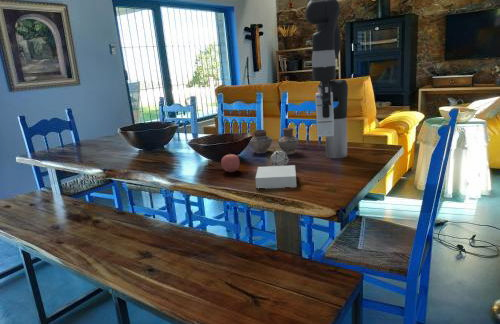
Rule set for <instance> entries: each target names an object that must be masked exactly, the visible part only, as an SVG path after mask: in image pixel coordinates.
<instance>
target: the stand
mask: <svg viewBox="0 0 500 324" xmlns="http://www.w3.org/2000/svg"><path fill="white" fill-rule="evenodd" d="M285 187H290V188H297V172H296V165H295V164H294V165H293V164H292V165H286V166H273V165H272V166H271V165H270V166H257V170H256V173H255V189H256V188H258V189H257V190H259V188H265V189H283V188H285ZM285 189H286V188H285Z"/></svg>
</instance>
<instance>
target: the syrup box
mask: <svg viewBox="0 0 500 324" xmlns="http://www.w3.org/2000/svg"><path fill="white" fill-rule="evenodd" d="M324 101H328V99H324ZM322 107H323V106H322V100H321V99H320V93H319V92H316V93H315V115H316V118H315V120H316V135H317V137H318V138H319V137H323V138H326V137H327V136H334V109H333V108H334V102H333V93H332V92H331V104H330V106H329V115H330V116H329V118H323V113H322Z"/></svg>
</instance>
